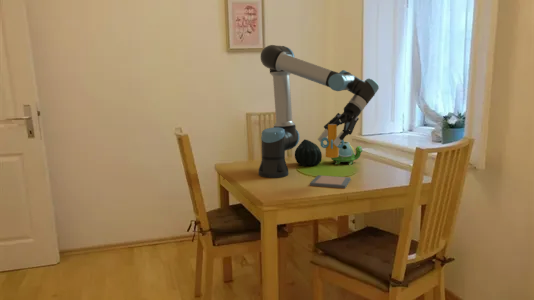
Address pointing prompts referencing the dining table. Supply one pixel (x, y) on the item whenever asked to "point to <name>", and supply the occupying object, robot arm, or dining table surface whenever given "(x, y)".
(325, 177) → the tray
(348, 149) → the turtle holder
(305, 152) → the squash
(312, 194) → the dining table surface
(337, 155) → the tube with blue rings
